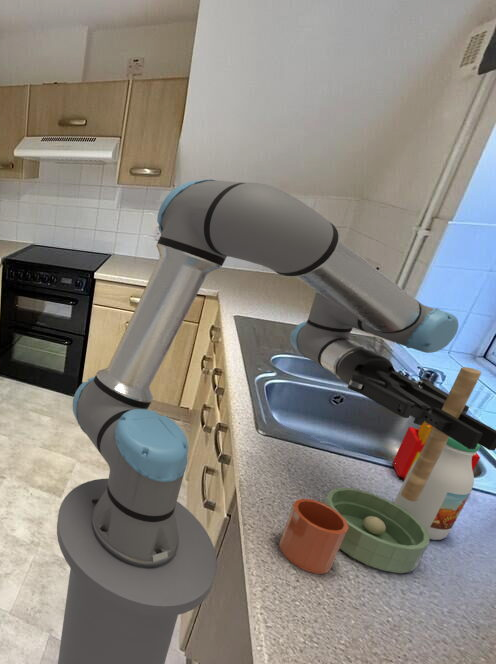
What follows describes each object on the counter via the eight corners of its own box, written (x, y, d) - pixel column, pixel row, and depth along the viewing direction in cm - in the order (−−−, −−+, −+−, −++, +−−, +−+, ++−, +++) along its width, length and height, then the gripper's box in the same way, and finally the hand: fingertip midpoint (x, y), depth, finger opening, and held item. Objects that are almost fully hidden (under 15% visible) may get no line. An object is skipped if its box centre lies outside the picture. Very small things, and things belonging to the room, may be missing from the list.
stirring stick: (403, 499, 69) (465, 371, 60) (398, 491, 70) (458, 365, 62) (419, 503, 68) (484, 374, 59) (414, 495, 69) (477, 368, 61)
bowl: (325, 552, 72) (336, 527, 70) (311, 502, 83) (321, 478, 81) (429, 589, 66) (444, 562, 64) (399, 529, 77) (412, 504, 75)
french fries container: (459, 499, 84) (490, 442, 80) (399, 481, 89) (425, 426, 84) (447, 479, 90) (475, 425, 85) (391, 463, 95) (415, 410, 90)
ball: (363, 533, 75) (369, 521, 74) (358, 522, 78) (364, 510, 77) (384, 540, 74) (390, 528, 73) (379, 528, 76) (385, 516, 75)
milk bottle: (404, 535, 76) (449, 445, 69) (380, 504, 83) (419, 420, 76) (457, 546, 74) (509, 455, 67) (428, 514, 81) (473, 428, 74)
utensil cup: (281, 561, 70) (297, 521, 67) (277, 531, 76) (291, 492, 73) (334, 581, 67) (353, 540, 64) (325, 548, 73) (342, 508, 70)
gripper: (390, 384, 81) (530, 466, 59) (310, 381, 82) (419, 460, 60) (404, 350, 79) (556, 422, 57) (322, 346, 79) (440, 416, 57)
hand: (485, 441), depth 58 cm, fingers closed on stirring stick, 2 cm apart
